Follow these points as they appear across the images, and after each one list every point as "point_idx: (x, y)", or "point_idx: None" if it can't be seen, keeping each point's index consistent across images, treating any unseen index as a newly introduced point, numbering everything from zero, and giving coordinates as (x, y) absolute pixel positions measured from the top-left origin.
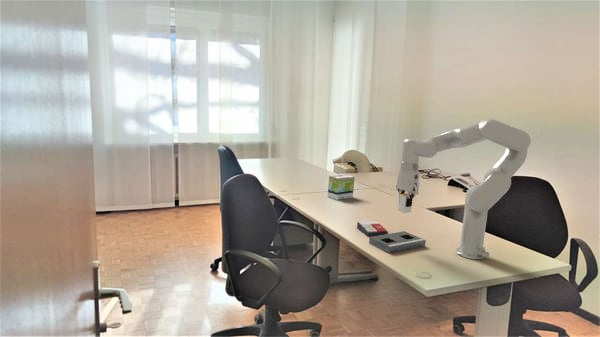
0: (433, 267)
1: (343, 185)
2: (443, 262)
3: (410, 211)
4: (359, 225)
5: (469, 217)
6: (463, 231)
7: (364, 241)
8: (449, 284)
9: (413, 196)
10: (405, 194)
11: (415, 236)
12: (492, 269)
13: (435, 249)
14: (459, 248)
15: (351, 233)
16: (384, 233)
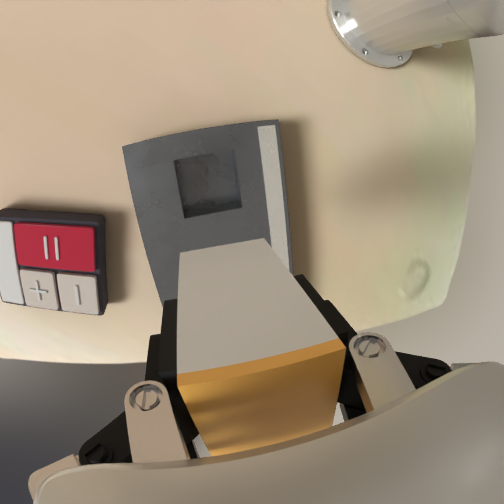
0: (406, 225)
1: None
2: (396, 166)
3: (265, 244)
4: (24, 303)
5: (500, 31)
6: (427, 32)
7: (147, 330)
8: (457, 250)
9: (409, 369)
10: (256, 422)
11: (213, 133)
12: (453, 80)
13: (300, 94)
14: (342, 23)
15: (66, 333)
16: (100, 240)
